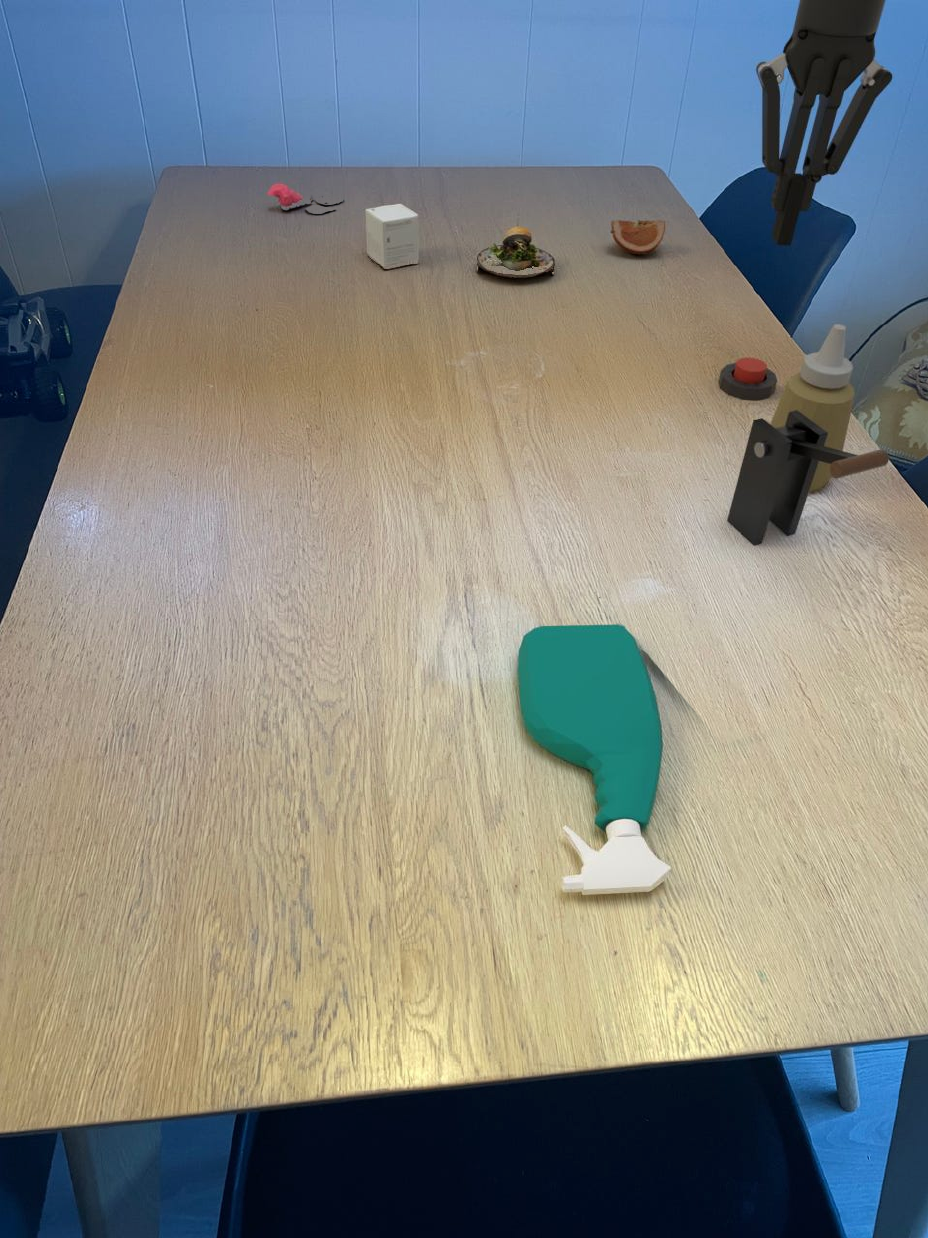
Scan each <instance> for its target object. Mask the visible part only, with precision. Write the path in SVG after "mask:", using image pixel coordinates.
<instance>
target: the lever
mask: <svg viewBox="0 0 928 1238" xmlns="http://www.w3.org/2000/svg"><path fill="white" fill-rule="evenodd" d="M776 429H777V430H778V431H779V432H781V433H782V434H783V435H785V436H786V437H787V438H788V439H790V440H791V441H792V445H791V449H790V452H789V455H788V459H787V461H790V460H794V459H798V458H802V457H808V458H811V459H814V460H818V461H821V462H825V463H828V464H831V465H830V473H831V475H832V477H833V478H834V479H841V478H845V477H849V476H853V475H856V474H860V473H864V472H867V471H872V470H876V469H879V468H882V467H885V466H887V465H888V463H889V455H888V452H887V451H886V450H884V449H877V450H873V451H869V452H865V453H861V454H855V453H851V452H847V451H844V450H843V451H840V450H837V449H833V448H829V447H825V446H822V445H818V444H814V443H810V442H807V441H806V431H803V430H799V429H795V428H792V427H788V426H783V427H779V428H776Z"/></svg>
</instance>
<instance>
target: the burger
mask: <svg viewBox="0 0 928 1238" xmlns="http://www.w3.org/2000/svg"><path fill="white" fill-rule="evenodd" d="M517 215H519V213H518V214H517ZM516 225H517V226H515V227H512V228H510V229H508V230H507V231H506V232H505V233H504V234H503V236H502V244H499V245H497V244H496V243H493V246H490V247H487V248H484V249H482V250H481V251H480V252H479V253H478V254H477V255H476V265H477V266H478V269H479V270H480V268H481V269H482V270H484V271H486V272H489V273H490V274H494V275H496V276H500V277H504V278H506V277H508V278H512V277H513V278H515V279H516V278H518V279H519V278H524V279H525V278H531V277H532V278H533V277H535V276H538V275H540V274H544V273H545V272H546V273H548V272H549V271H552V272H554V271H555V270H554V266H555V267H556V260H555V258H554V257H553V255H551V254H550V253H549V252H547V251H545V250H543V249H541V248H538V247H536V245H535V244H533V243H532V241H533V240H532V238H533V237H532V233H531V232H530V230H529V229H527V228H526V227H522V226H519V219H517V223H516ZM531 243H532V244H531ZM494 255H495V256H496V257H497V258H498V259H499V260H501V262H502V263H500V262H498V261H497V260H495V261H493V262H491V263H492V265H491V266H504V267H506V268H508V269H509V270H515V271H520V270H524V269H526V268H532V266H534V267H539V266H541V267H542V266H545V268H543V269H545V270H541V269H542V268H541V269H538V270H541V272H539V273H533V272H532V273H533V274H531V273H530V274H528V275H524V274H522V275H515V274H503V273H497V272H494V271H491V270H489V269H486V268H485V267H484V266H489V265H487V263H488V262H487V263H485V262H486V261H488V260H489V258H491V257H494ZM494 259H495V258H494ZM494 259H493V260H494ZM489 261H492V260H489ZM497 262H498V263H499V264H498V263H497ZM495 263H496V264H495ZM489 264H490V263H489ZM552 268H553V269H552ZM532 269H533V268H532ZM538 270H535V271H538ZM525 274H527V273H525Z"/></svg>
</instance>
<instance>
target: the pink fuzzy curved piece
mask: <svg viewBox="0 0 928 1238" xmlns="http://www.w3.org/2000/svg"><path fill="white" fill-rule="evenodd" d="M266 195H267V196H273V197H275V198H278V203H279V202H280V205H282V206H286V207H287V206H290V205H292V203H297V202H298V201H299V200H302V198H303V196H301V195H300V194H298V193H295V190H293V189H291V188H289V187H288V186H287V185H286V184H283V183H281V182H280V183H275V184H273V185H271V187H270V189H269V190H268V192H267V193H266Z"/></svg>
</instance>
